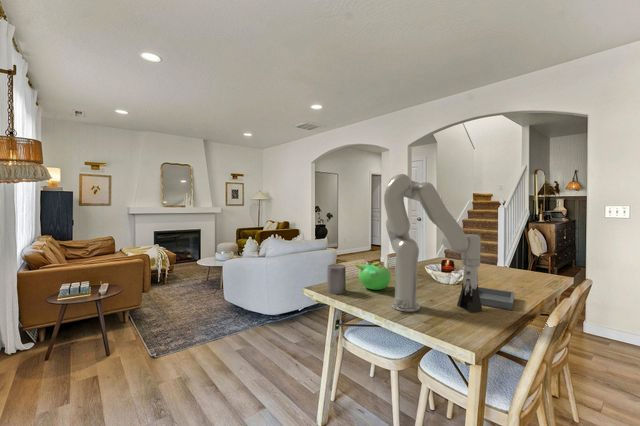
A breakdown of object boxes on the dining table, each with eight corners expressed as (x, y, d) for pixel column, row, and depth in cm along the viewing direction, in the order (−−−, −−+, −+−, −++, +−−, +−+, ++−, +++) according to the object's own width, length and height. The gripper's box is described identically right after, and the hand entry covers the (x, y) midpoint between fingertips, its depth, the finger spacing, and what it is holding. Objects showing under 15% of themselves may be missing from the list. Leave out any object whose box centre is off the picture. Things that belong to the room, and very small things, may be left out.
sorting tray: (512, 310, 133) (512, 303, 133) (467, 302, 144) (467, 295, 143) (514, 299, 150) (514, 292, 150) (473, 292, 160) (474, 286, 160)
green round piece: (396, 290, 164) (397, 263, 163) (375, 296, 153) (376, 267, 153) (371, 283, 178) (371, 258, 177) (350, 287, 167) (351, 261, 167)
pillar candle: (336, 287, 167) (336, 260, 167) (349, 291, 160) (349, 263, 159) (323, 291, 161) (323, 263, 160) (336, 295, 154) (336, 266, 153)
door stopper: (482, 311, 132) (483, 284, 132) (471, 312, 131) (471, 285, 130) (468, 304, 141) (468, 279, 140) (456, 305, 139) (457, 279, 139)
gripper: (477, 266, 126) (476, 309, 126) (482, 260, 140) (481, 298, 141) (457, 264, 130) (456, 306, 131) (464, 258, 144) (463, 296, 145)
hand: (469, 301), depth 136 cm, fingers closed on door stopper, 5 cm apart
